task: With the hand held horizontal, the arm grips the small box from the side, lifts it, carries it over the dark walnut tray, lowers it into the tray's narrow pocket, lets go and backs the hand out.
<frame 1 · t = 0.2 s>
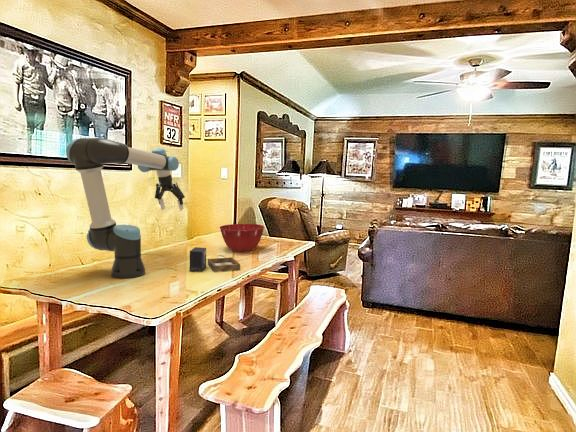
hand: (172, 209, 229), 27 cm above the table, tool tilted 15°, fingers open, 13 cm apart
mixing bowl: (242, 250, 245), on the table
walnut tray: (223, 267, 200), on the table
small box: (198, 269, 195), on the table
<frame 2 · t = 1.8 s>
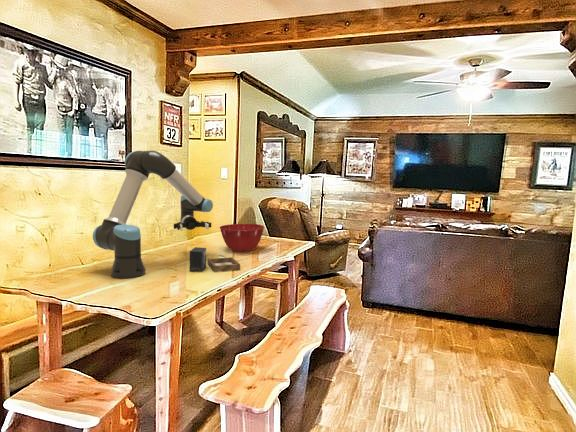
hand: (195, 227, 202), 20 cm above the table, tool horizontal, fingers open, 13 cm apart
nothing on the table moved.
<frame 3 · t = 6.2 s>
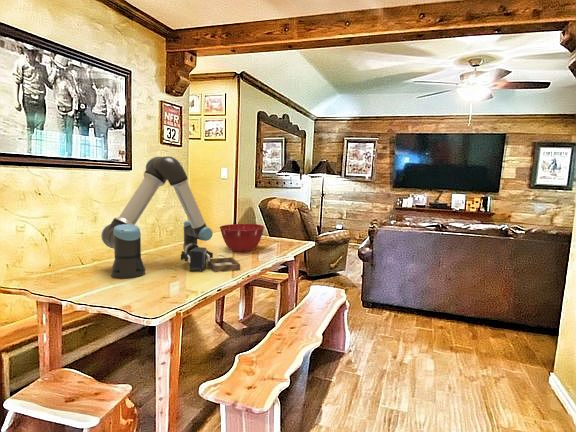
hand: (199, 259, 190), 6 cm above the table, tool horizontal, fingers closed on small box, 9 cm apart
small box: (198, 269, 195), on the table, touching gripper
everything else where it was.
when the fingers open (8 cm above the table, at t = 11.1 s): small box drops 2 cm, resting on walnut tray.
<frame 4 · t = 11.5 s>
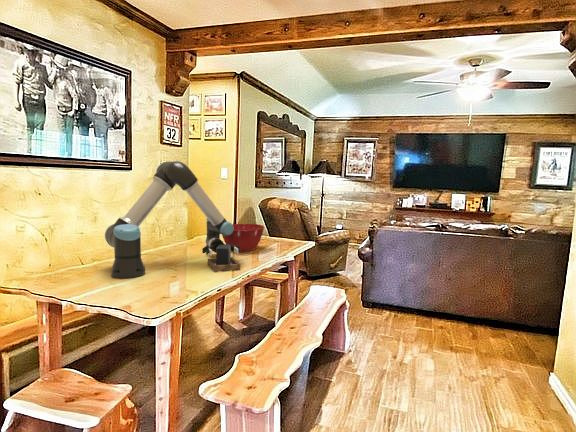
hand: (224, 252, 196), 8 cm above the table, tool horizontal, fingers open, 13 cm apart
small box: (223, 266, 200), resting on walnut tray
everything else where it was.
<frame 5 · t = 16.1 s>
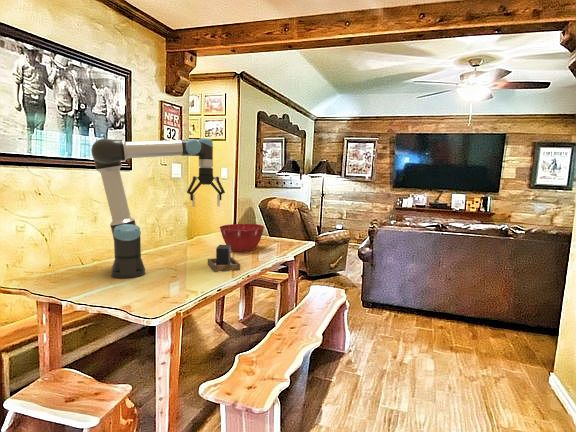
hand: (206, 206, 209), 31 cm above the table, tool pointing down, fingers open, 13 cm apart
nothing on the table moved.
at the end: small box inside the target area on the walnut tray (0.1 cm from its centre), point 0.4 cm above the walnut tray's base; small box tilted 0°; the gripper is holding nothing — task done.
